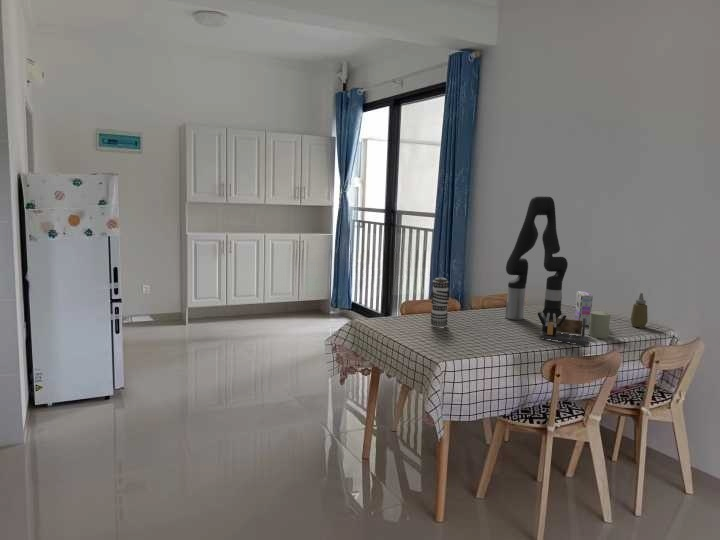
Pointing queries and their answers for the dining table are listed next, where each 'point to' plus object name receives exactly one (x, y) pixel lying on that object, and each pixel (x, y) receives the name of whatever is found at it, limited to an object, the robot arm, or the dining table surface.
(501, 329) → the dining table surface
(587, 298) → the candy box
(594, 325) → the can
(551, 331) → the fader
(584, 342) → the console
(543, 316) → the frame
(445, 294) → the decorative candle
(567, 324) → the door
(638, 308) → the squeeze bottle
